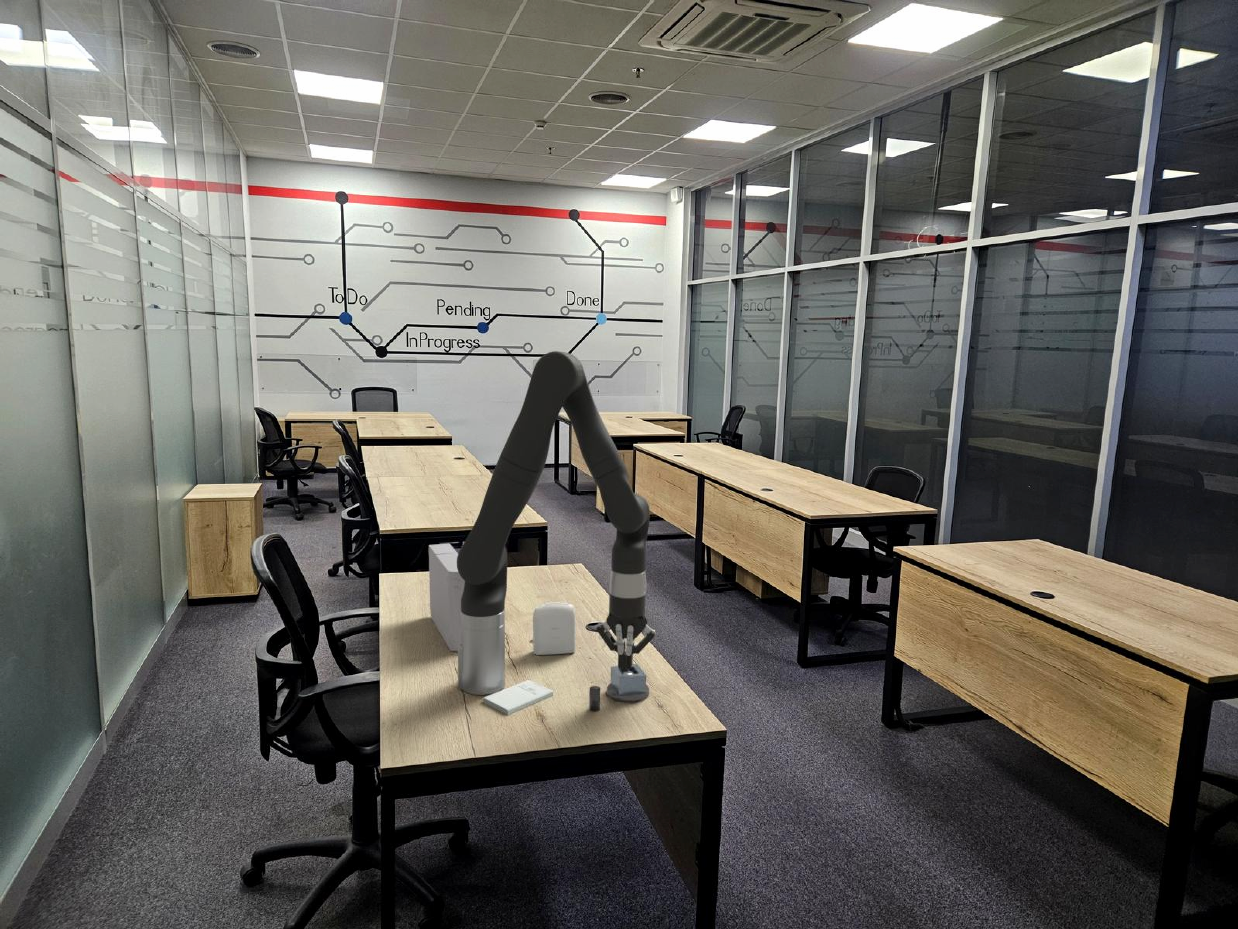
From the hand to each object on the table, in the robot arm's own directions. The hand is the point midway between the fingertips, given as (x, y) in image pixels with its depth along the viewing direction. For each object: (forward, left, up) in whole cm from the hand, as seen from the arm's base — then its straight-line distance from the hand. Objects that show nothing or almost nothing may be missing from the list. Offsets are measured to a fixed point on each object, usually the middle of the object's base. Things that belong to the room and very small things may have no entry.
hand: (625, 670), depth 160 cm
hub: (0, +3, -6) cm, 7 cm away
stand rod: (-5, -6, -6) cm, 10 cm away
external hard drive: (-21, -6, -7) cm, 23 cm away
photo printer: (-22, +20, -6) cm, 30 cm away
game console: (-52, +25, -7) cm, 58 cm away
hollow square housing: (0, +3, -5) cm, 6 cm away
